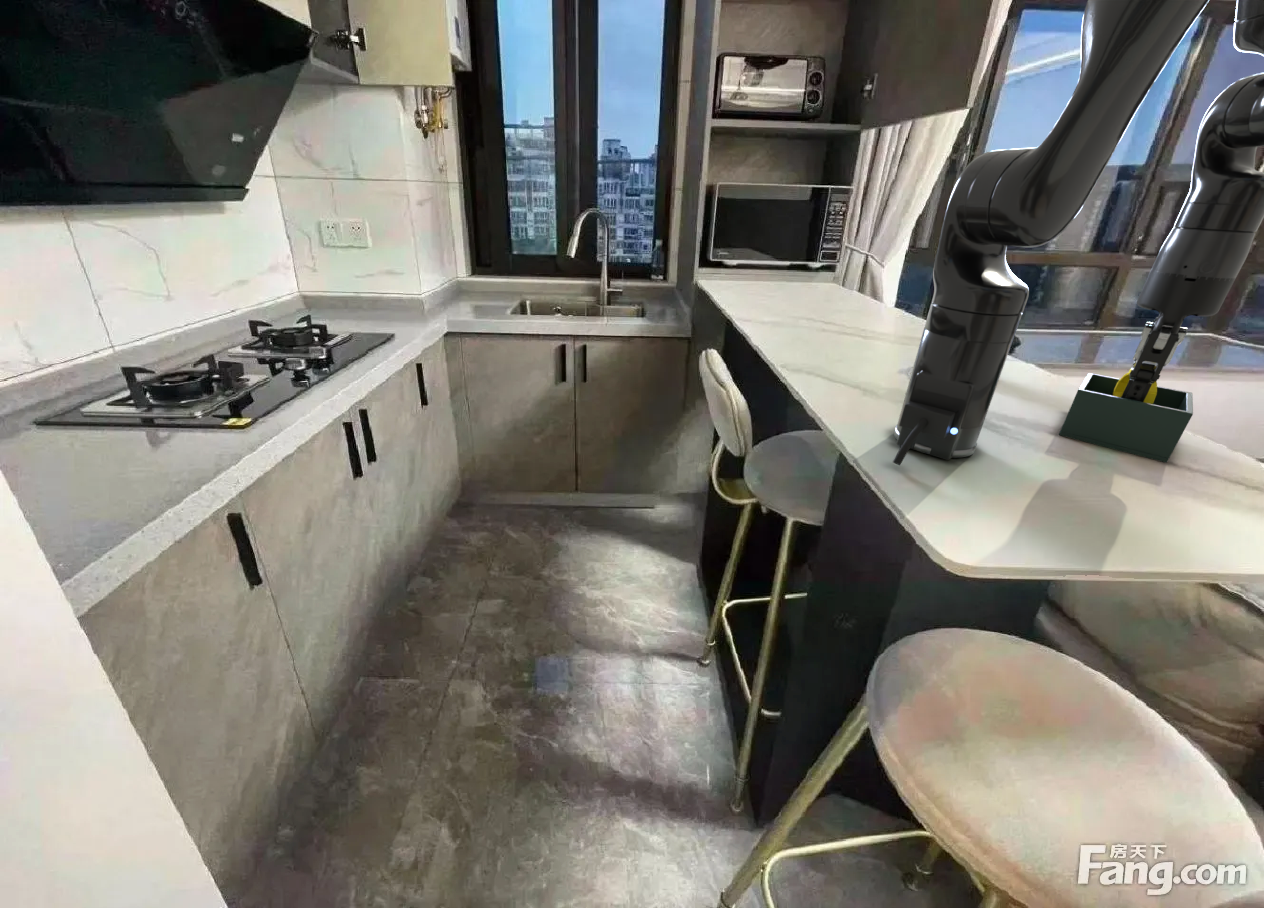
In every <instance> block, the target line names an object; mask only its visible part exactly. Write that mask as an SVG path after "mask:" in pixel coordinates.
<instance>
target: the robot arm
mask: <svg viewBox="0 0 1264 908" xmlns="http://www.w3.org/2000/svg"><path fill="white" fill-rule="evenodd" d="M1209 1H1210V0H1087V2H1086V4H1085V7H1084V12H1083V16H1082V22H1081V30H1080V31H1081V32H1080V33H1081V34H1080V71H1079V77H1078V80H1077V83H1076V87H1075V88H1074V90H1073V93H1072V95H1071V97H1070V98H1069V101H1068V102H1067V104H1066V107H1065V108H1064V109H1063V111H1062V113H1061V114H1060V116H1059V118H1058V119H1057V121H1056V123H1055V124H1054V125H1053V127H1052V129H1051V130H1050V131H1049V133H1048V134H1047V135H1046V137H1045V139H1044V140H1043V141H1042V142H1041V143H1040V144H1039V145H1038V146H1037V147H1021V148H1005V149H1004V148H1002V149H995V150H990V151H986V152H984V153H982V154H980V155H978V156H976V157H975V158H974V159H972V160H971V161H970V162H969V163H968V164H967V166H965V167H964V169H963V170H962V172H961V173H960V174H959V176H958V178H957V180H956V182H955V184H954V186H953V188H952V190H951V193H950V196H949V199H948V203H947V205H946V208H945V214H944V218H943V222H942V227H941V231H940V235H939V241H938V245H937V250H936V254H935V258H934V263H933V269H932V280H933V286H934V290H933V295H932V299H931V302H930V306H929V310H928V313H927V317H926V321H925V324H924V327H923V330H922V334H921V338H920V341H919V344H918V348H917V352H916V356H915V359H914V363H913V366H912V370H911V374H910V377H909V380H908V384H907V388H906V391H905V395H904V397H903V398H904V399H903V402H902V405H901V409H900V414H899V416H898V420H897V424H896V425H895V428H894V432H893V437H894V438H895V439H896V445H897V446H900V448H899V450H898V452H897V453H896V456H895V457H894V458H893V460H892V463H893V464H895V465H898V466H901V464H902V463H903V461H904V459H905V458H906V456H907V454H908V452H909V450H914V451H917V452H920V453H924V454H927V455H929V456H931V457H932V456H933V457H936V458H939V459H942V460H946V461H949V460H951V459H953V458H956V459H957V458H966V457H969V456H972V455H973V454H974V453H975V451H976V448H977V446H978V441H979V438H980V434H981V432H982V428H983V426H984V423H985V420H986V417H987V414H988V412H989V409H990V406H991V403H992V400H993V397H994V394H995V392H996V388H997V386H998V383H999V380H1000V378H1001V375H1002V372H1003V370H1004V366H1005V363H1006V360H1007V358H1008V355H1009V352H1010V349H1011V347H1012V345H1013V342H1014V338H1015V335H1016V333H1017V331H1018V327H1019V325H1020V323H1021V319H1022V316H1023V313H1024V311H1025V308H1026V306H1027V303H1028V300H1029V296H1030V288H1029V287H1028V284H1026V283H1025V282H1023V281H1022V280H1021V279H1020V278H1018V277H1017V275H1015V274H1014V273H1013V272H1012V270H1011V269H1010V267H1009V265H1008V263H1007V259H1006V258H1007V257H1006V256H1007V250H1008V247H1014V248H1024V249H1028V248H1029V249H1030V248H1031V249H1032V248H1038V247H1039V248H1040V247H1042V246H1044V245H1046V244H1048V243H1051V242H1052V241H1054V240H1055V239H1056V238H1057V237H1059V236H1060V235H1061V234H1062V233H1064V231H1066V229H1067V228H1068V227H1069V226H1070V224H1072V223H1073V221H1074V220H1075V219H1076V217H1077V216H1078V214H1079V213H1080V212H1081V210H1083V207H1084V206H1085V204H1086V202H1087V201H1088V199H1089V198H1090V196H1091V194H1092V193H1093V190H1094V188H1095V187H1096V185H1097V183H1098V181H1099V180H1100V178H1101V176H1102V175H1103V173H1104V171H1105V169H1106V167H1107V166H1108V164H1109V162H1110V160H1111V158H1112V156H1113V155H1114V153H1115V151H1116V149H1117V147H1118V145H1120V142H1121V140H1122V139H1123V137H1124V135H1125V133H1126V131H1127V129H1128V127H1129V125H1130V124H1131V122H1132V120H1133V118H1134V117H1135V114H1136V113H1137V111H1138V110H1139V108H1140V107H1141V105H1142V103H1143V101H1145V98H1146V97H1147V95H1148V94H1149V92H1150V90H1151V89H1152V87H1153V85H1154V84H1155V83H1156V81H1157V79H1158V78H1159V76H1160V74H1161V73H1162V71H1164V69H1165V67H1166V65H1167V64H1168V62H1169V60H1170V59H1171V57H1172V55H1173V54H1174V52H1175V51H1176V49H1177V48H1178V47H1179V44H1180V43H1181V42H1182V40H1183V39H1184V37H1185V36H1186V34H1187V33H1188V32H1189V30H1190V29H1191V27H1192V26H1193V24H1194V23H1195V21H1196V20H1197V18H1198V17H1199V16H1200V15H1201V13H1202V12H1203V10H1204V9H1205V7H1206V6H1207V4H1208V3H1209ZM1235 8H1236V9H1235V16H1234V17H1235V18H1234V21H1235V22H1234V23H1233V37H1232V39H1233V40H1232V41H1233V47H1234V48H1235V49H1236V50H1237V51H1238V52H1242V53H1250V54H1258V55H1261V56H1262V57H1264V0H1236V6H1235ZM1259 147H1264V72H1260V73H1256V74H1251V75H1248V76H1245V77H1243V78H1240V79H1238V80H1236V81H1235V82H1233V83H1232V84H1230V85H1228V86H1227V87H1226V88H1225V89H1223V90H1222V92H1221V93H1219V95H1218V96H1216V98H1215V99H1214V101H1213V102H1212V103H1211V104H1210V106H1209V107H1208V109H1207V110H1206V112H1205V114H1204V116H1203V118H1202V120H1201V122H1200V125H1199V129H1198V132H1197V138H1196V144H1195V151H1194V158H1193V164H1192V170H1191V179H1190V181H1191V182H1190V188H1189V192H1188V194H1187V196H1186V197H1185V200H1184V203H1183V205H1182V207H1181V209H1180V210H1179V211H1180V212H1179V214H1178V215H1177V218H1176V220H1175V222H1174V225H1173V228H1172V229H1171V231H1170V232H1169V234H1168V236H1167V237H1166V239H1165V240H1164V242H1163V244H1162V245H1161V247H1160V249H1159V252H1158V254H1157V257H1156V258H1155V261H1154V263H1153V265H1152V267H1151V269H1150V271H1149V273H1148V276H1147V278H1146V280H1145V282H1144V284H1143V287H1142V289H1141V291H1140V293H1139V295H1138V298H1137V300H1136V304H1137V306H1138V307H1139V308H1142V309H1145V310H1149V311H1156V312H1158V313H1159V314H1158V316H1156V317H1155V319H1153V320H1152V322H1151V321H1146V323H1145V325H1144V327H1143V329H1142V331H1141V333H1140V335H1139V340H1140V341H1139V343H1138V345H1137V347H1136V350H1135V352H1134V355H1133V357H1132V360H1133V363H1132V366H1133V367H1132V368H1134V369H1133V370H1131V372H1130V374H1129V376H1130V377H1129V379H1130V380H1129V382H1128V384H1127V386H1126V388H1125V390H1124V392H1123V394H1122V396H1121V398H1126V399H1130V400H1135V401H1140V402H1144V400H1145V398H1146V395H1147V393H1148V391H1149V389H1150V387H1151V385H1152V383H1153V384H1154V382H1157V381H1158V380H1159V379H1160V377H1161V373H1162V371H1163V368H1164V367H1167V366H1168V365H1169V364H1170V363H1171V361H1172V359H1173V356H1174V355H1175V352H1176V350H1177V348H1178V346H1180V345H1181V344H1182V343H1183V341H1184V340H1185V338H1186V335H1187V333H1188V327H1184V326H1182V324H1183V323H1184V320H1185V319H1186V318H1187V317H1189V316H1194V317H1212V316H1215V315H1216V314H1218V313H1219V311H1220V309H1221V307H1222V305H1223V304H1224V301H1225V299H1226V298H1227V296H1228V294H1229V292H1230V291H1231V289H1232V286H1233V284H1234V282H1235V281H1236V279H1237V277H1238V275H1239V273H1240V271H1241V269H1242V267H1243V265H1244V263H1245V261H1246V260H1247V257H1248V255H1249V252H1250V250H1251V247H1252V244H1253V241H1254V238H1255V236H1256V234H1257V232H1258V229H1259V228H1260V226H1261V224H1262V222H1263V221H1264V171H1259V170H1257V169H1255V167H1256V166H1255V165H1256V155H1257V149H1258V148H1259ZM1139 368H1140V369H1139Z"/></svg>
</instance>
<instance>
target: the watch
mask: <svg viewBox="0 0 1264 908" xmlns="http://www.w3.org/2000/svg"><path fill="white" fill-rule="evenodd" d="M1133 369H1134V368H1133V367H1130V368H1129V370H1128V372H1126V373H1125V374H1123V375H1122V376H1121V377H1120V378H1119V379H1120V380H1119V381H1118V382H1117V384H1116V386H1115V388H1114V392H1113V396H1116V397H1121V396H1122V394H1123V392H1124V390H1125V388H1126V386H1127V384H1128V382H1129V380H1130V379H1129V377H1130V376H1129V374H1130V372H1131V370H1133ZM1139 369H1140V368H1139ZM1157 386H1158V383H1157V381H1156V382H1154V384H1153V383H1152V385H1151V387H1150V389H1149V391H1148V393H1147V395H1146V398H1145V400H1144V402H1145V403H1150V404H1153V403H1154V400H1155V397H1156V395H1157V394H1156V393H1157Z"/></svg>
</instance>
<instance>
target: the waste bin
mask: <svg viewBox="0 0 1264 908" xmlns="http://www.w3.org/2000/svg"><path fill="white" fill-rule="evenodd" d="M1120 379H1121V378H1117V377H1113V376H1107V375H1102V374H1098V373H1097V374H1096V373H1093V372H1092V373H1091V372H1088V373H1087V374H1086V376H1085V378H1084V379H1083V381H1082V383H1081V384H1080V386H1079V388H1078V389H1077V391H1076V394H1075V396H1074V399H1073V400H1072V403H1071V405H1070V407H1069V410H1068V412H1067V414H1066V416H1065V419H1064V421H1063V424H1062V426H1061V429H1060V431H1059V434H1058V436H1060V437H1065V438H1068V439H1072V440H1077V441H1080V442H1084V443H1088V444H1092V445H1096V446H1099V447H1103V448H1108V449H1111V450H1116V451H1120V452H1123V453H1127V454H1131V455H1135V456H1138V457H1142V458H1147V459H1150V460H1154V461H1158V462H1161V463H1162V462H1163V463H1168V461H1169V460H1170V458H1171V456H1172V454H1173V452H1174V450H1175V448H1176V447H1177V445H1178V443H1179V441H1180V439H1181V437H1182V436H1183V434H1184V432H1185V430H1186V428H1187V427H1188V424H1189V422H1190V420H1191V419H1192V417H1193V415H1194V402H1193V400H1194V399H1193V398H1194V397H1193V392H1189V391H1185V390H1180V389H1175V388H1170V387H1164V386H1159V385H1157V393H1156V394H1157V395H1156V397H1155V400H1154V403H1153V404H1150V403H1145V402H1140V401H1135V400H1130V399H1126V398H1121V397H1116V396H1113V392H1114V388H1115V386H1116V384H1117V382H1118V381H1119V380H1120Z"/></svg>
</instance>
